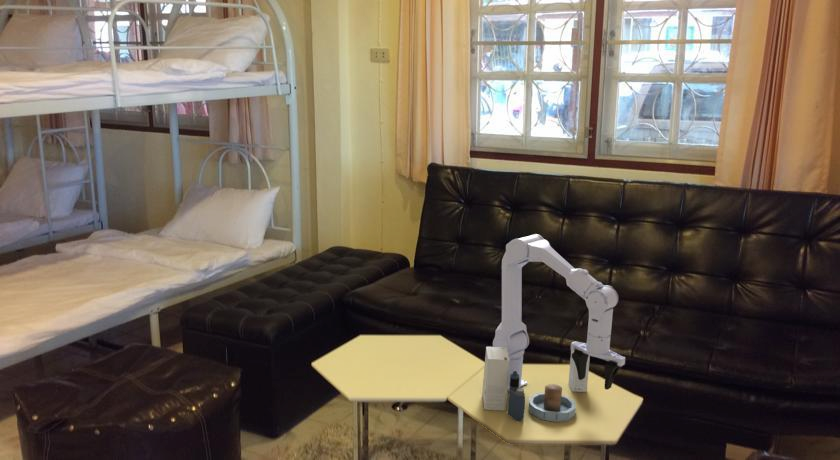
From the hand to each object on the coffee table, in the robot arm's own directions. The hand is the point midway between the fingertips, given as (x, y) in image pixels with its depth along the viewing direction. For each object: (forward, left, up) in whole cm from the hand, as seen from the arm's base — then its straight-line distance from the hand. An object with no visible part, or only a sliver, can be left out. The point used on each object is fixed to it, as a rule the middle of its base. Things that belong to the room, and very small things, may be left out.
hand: (594, 383), depth 183 cm
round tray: (-9, -5, -9) cm, 14 cm away
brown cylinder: (-9, -5, -9) cm, 14 cm away
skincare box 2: (-12, +13, -10) cm, 20 cm away
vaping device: (-14, -15, -10) cm, 22 cm away
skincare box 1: (-22, -13, -10) cm, 27 cm away
